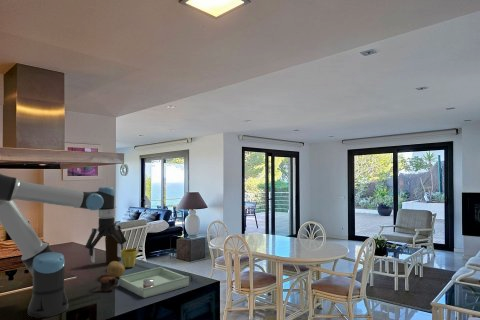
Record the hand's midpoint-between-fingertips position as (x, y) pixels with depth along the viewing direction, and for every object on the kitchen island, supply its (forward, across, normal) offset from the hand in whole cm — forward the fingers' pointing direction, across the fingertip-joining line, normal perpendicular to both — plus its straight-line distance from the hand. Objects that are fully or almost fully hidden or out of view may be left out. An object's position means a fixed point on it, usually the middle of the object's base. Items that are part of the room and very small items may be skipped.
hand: (106, 259), depth 170 cm
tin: (+15, +12, -20) cm, 28 cm away
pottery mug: (+17, +1, -1) cm, 17 cm away
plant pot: (+16, +29, +33) cm, 47 cm away
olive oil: (+16, +27, +51) cm, 60 cm away
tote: (+16, +21, -11) cm, 28 cm away
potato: (+16, +13, +18) cm, 27 cm away
